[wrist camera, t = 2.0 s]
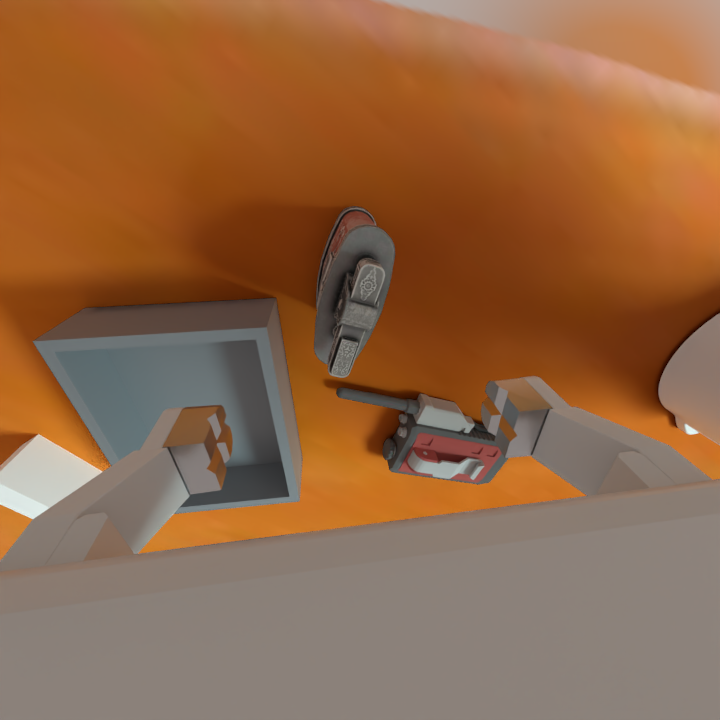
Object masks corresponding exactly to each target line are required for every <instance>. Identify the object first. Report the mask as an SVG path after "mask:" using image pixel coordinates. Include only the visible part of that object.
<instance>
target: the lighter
mask: <svg viewBox="0 0 720 720" xmlns="http://www.w3.org/2000/svg"><path fill="white" fill-rule="evenodd" d="M394 258H395V246H394V244H393V241H392V239H391V238H390V237H389V235H388V234H387V233H386V232H385V231H384V230H383V229H381V228H379V227H377V226H376V222H375V220H374V218H373V216H372V215H371V214H370V213H369V212H368V211H367V210H365V209H364V208H362V207H357V206H352V207H347V208H346V209H344V210H342V212H341V213H340V214H339V216H338V218H337V220H336V222H335V224H334V226H333V228H332V230H331V233H330V235H329V237H328V240H327V243H326V246H325V249H324V252H323V255H322V258H321V262H320V268H319V273H318V278H317V292H316V307H317V315H316V323H315V340H314V350H315V354H316V356H317V357H318V359H319V360H321V361H322V362H323V363H325V364H328V372H329V374H330V375H332V376H335V377H341V378H344V377H347V376H348V375H349V373H350V371H351V369H352V366H353V363H354V360H355V359H356V358H357V357H358V355H359V354H360V352H361V351H362V349H363V347H364V346H365V344H366V343H367V341H368V339H369V338H370V336H371V334H372V331H373V329H374V327H375V325H376V323H377V321H378V319H379V316H380V314H381V312H382V309H383V305H384V302H385V299H386V296H387V292H388V289H389V286H390V281H391V275H392V270H393V264H394Z"/></svg>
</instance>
